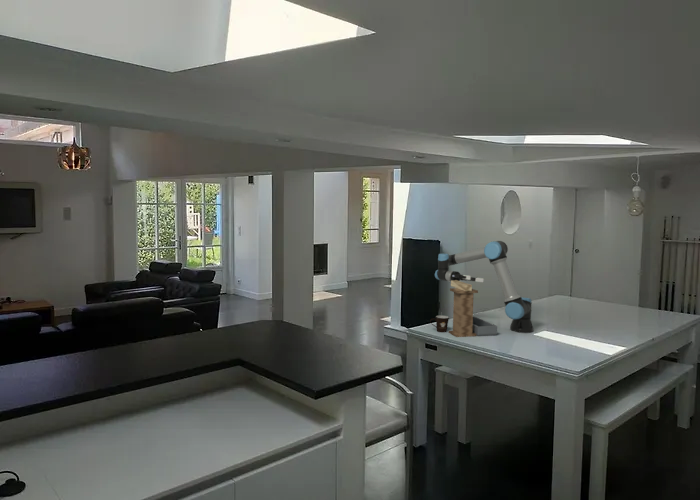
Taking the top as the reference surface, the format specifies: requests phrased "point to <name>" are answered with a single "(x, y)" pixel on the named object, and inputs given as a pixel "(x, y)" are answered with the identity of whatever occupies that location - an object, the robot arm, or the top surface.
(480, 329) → the tray
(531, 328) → the robot arm
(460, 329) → the stand
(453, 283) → the batten
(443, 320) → the coffee mug
